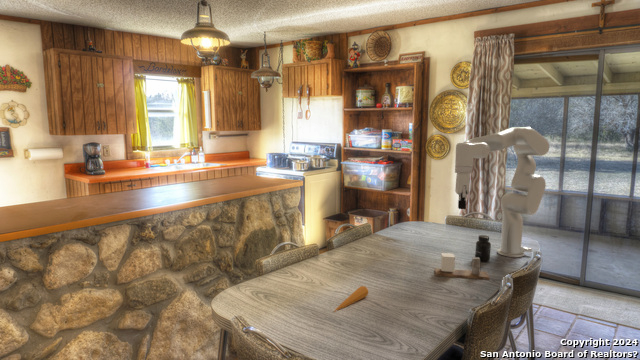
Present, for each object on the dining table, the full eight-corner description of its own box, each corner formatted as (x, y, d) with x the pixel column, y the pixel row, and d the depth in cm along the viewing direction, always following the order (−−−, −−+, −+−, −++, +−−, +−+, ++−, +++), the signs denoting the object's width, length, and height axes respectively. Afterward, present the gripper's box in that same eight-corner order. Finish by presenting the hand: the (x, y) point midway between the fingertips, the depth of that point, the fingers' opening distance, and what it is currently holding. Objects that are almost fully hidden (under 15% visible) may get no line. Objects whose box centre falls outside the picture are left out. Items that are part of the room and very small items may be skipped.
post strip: (486, 273, 181) (486, 256, 180) (489, 279, 175) (490, 261, 173) (434, 270, 186) (435, 253, 185) (436, 275, 179) (436, 258, 178)
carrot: (363, 296, 160) (359, 285, 160) (371, 294, 157) (367, 283, 157) (330, 318, 145) (326, 306, 146) (339, 318, 142) (335, 305, 143)
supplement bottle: (474, 260, 198) (475, 237, 197) (475, 256, 204) (477, 233, 203) (489, 263, 195) (490, 238, 194) (490, 259, 201) (491, 235, 200)
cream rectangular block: (440, 267, 184) (441, 253, 183) (452, 267, 183) (453, 253, 182) (442, 271, 179) (442, 256, 178) (454, 271, 178) (454, 257, 177)
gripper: (453, 167, 195) (451, 205, 198) (457, 171, 181) (455, 211, 183) (469, 168, 194) (467, 205, 196) (474, 171, 179) (473, 212, 182)
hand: (461, 208), depth 190 cm, fingers closed
